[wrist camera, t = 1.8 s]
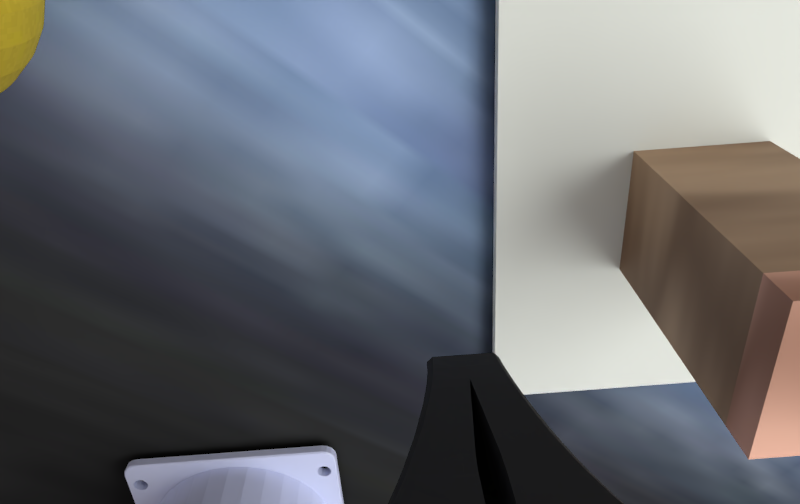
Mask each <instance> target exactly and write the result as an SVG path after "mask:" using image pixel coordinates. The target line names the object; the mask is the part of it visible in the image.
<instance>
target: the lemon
mask: <svg viewBox="0 0 800 504" xmlns="http://www.w3.org/2000/svg"><path fill="white" fill-rule="evenodd" d="M44 10H45V0H0V93H1V92H3V91H4V90H5V89H7V88H8V87H9V86H10V85H11V84H12V83H13V82H14V81H15V80H16V79H17V77H18V76H19V75H20V73H21V72H22V71H23V69H24V68H25V67H26V65H27V64H28V62H29V61H30V60H31V58H32V57H33V55H34V53H35V50H36V47H37V44H38V41H39V38H40V35H41V32H42V30H43V25H44Z"/></svg>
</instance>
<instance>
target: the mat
mask: <svg viewBox="0 0 800 504" xmlns="http://www.w3.org/2000/svg"><path fill="white" fill-rule="evenodd" d="M764 141H771V142H773V143H774V144H776V145H778V146H779V147H781V148H783V149H784V150H786V151H788V152H789V153H791V154H793V155H794V156H796V157H798V158H799V159H800V0H496V12H495V122H494V232H493V342H492V353H495V354H496V355H497V356H498V357H499V358H500V360H501V362H502V363H503V365H504V367H505V368H506V370H507V371H508V373H509V374H510V376H511V377H512V379H513V380H514V382H515V383H516V385H517V386H518V388H519V389H520V390H521V392H522V393H523V395H525V394H539V393H552V392H565V391H579V390H592V389H606V388H619V387H632V386H646V385H659V384H673V383H686V382H696V381H695V380H694V378H693V377H692V375H691V374H690V372H689V371H688V369H687V368H686V366H685V365H684V363H683V362H682V360H681V359H680V358H679V356H678V355H677V353H676V352H675V350H674V349H673V347H672V346H671V344H670V343H669V341H668V340H667V338H666V337H665V335H664V334H663V332H662V331H661V330H660V328H659V327H658V325H657V324H656V322H655V321H654V319H653V318H652V316H651V315H650V313H649V312H648V310H647V309H646V307H645V306H644V304H643V303H642V302H641V300H640V299H639V297H638V296H637V294H636V293H635V291H634V290H633V288H632V287H631V285H630V284H629V282H628V281H627V279H626V278H625V276H624V275H623V274H622V272H621V271H620V260H621V252H622V244H623V235H624V227H625V219H626V210H627V202H628V194H629V186H630V177H631V169H632V161H633V152H634V151H641V150H655V149H668V148H682V147H696V146H709V145H723V144H736V143H750V142H764Z"/></svg>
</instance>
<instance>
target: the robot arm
mask: <svg viewBox="0 0 800 504" xmlns="http://www.w3.org/2000/svg"><path fill="white" fill-rule="evenodd" d="M427 369H428V375H427V386H426V392H425V397H424V402H423V407H422V411H421V415H420V418H419V422H418V426H417V430H416V433H415V436H414V440H413V442H412V445H411V448H410V451H409V454H408V457H407V459H406V462H405V465H404V468H403V470H402V473H401V475H400V478H399V480H398V483H397V485H396V487H395V490H394V492H393V494H392V496H391V499H390V501H389V503H388V504H624V503H623V502H622V501H620V500H619V499H618V498H617V497H616V496H615V495H614V494H613V493H612V492H610V491H609V490H608V489H607V488H606V487H605V486H604V485H603V484H602V483H601V482H600V481H599V480H598V479H597V478H596V477H595V476H594V475H593V474H592V473H591V472H590V471H589V470H588V469H587V468H586V467H585V466H584V465H583V464H582V463H581V462H580V461H579V460H578V459H577V458H576V457H575V456H574V455H573V454H572V453H571V451H570V450H569V449H568V448H567V447H566V446H565V445H564V444H563V443H562V442H561V441H560V439H559V438H558V437H557V436H556V435H555V434H554V432H553V431H552V430H551V429H550V428H549V426H548V425H547V424H546V423H545V421H544V420H543V419H542V418H541V417H540V415H539V414H538V413H537V412H536V410H535V409H534V408H533V407H532V405H531V404H530V403H529V401H528V400H527V399H526V397H525V396H524V395H523V393H522V392H521V390H520V389H519V388H518V386H517V385H516V383H515V382H514V380H513V379H512V377H511V376H510V374H509V373H508V371H507V370H506V368H505V367H504V365H503V363H502V362H501V360H500V358H499V357H498V356H497V355H496V354H495V353H482V354H469V355H455V356H441V357H432V358H431V359H430V360H429V361H428V362H427ZM323 466H325V467H328V468H321V467H323ZM124 475H125V478H126V481H127V483H128V486H129V489H130V491H131V494H132V496H133V499H134V502H135V504H344V501H343V494H342V488H341V481H340V475H339V469H338V462H337V456H336V452H335V450H334V449H332V448H331V447H329V446H323V445H321V446H308V447H294V448H281V449H268V450H254V451H241V452H227V453H214V454H201V455H187V456H174V457H161V458H147V459H136V460H132V461H130V462H129V463H128V465H127V467H126V469H125V471H124ZM140 480H142V481H140ZM144 481H145V482H144Z"/></svg>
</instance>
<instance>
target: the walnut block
mask: <svg viewBox="0 0 800 504" xmlns="http://www.w3.org/2000/svg"><path fill="white" fill-rule="evenodd" d="M620 271H621V272H622V274H623V275H624V276H625V278H626V279H627V281H628V282H629V284H630V285H631V287H632V288H633V290H634V291H635V293H636V294H637V296H638V297H639V299H640V300H641V302H642V303H643V304H644V306H645V307H646V309H647V310H648V312H649V313H650V315H651V316H652V318H653V319H654V321H655V322H656V324H657V325H658V327H659V328H660V330H661V331H662V332H663V334H664V335H665V337H666V338H667V340H668V341H669V343H670V344H671V346H672V347H673V349H674V350H675V352H676V353H677V355H678V356H679V358H680V359H681V360H682V362H683V363H684V365H685V366H686V368H687V369H688V371H689V372H690V374H691V375H692V377H693V378H694V380H695V381H696V383H697V384H698V386H699V387H700V388H701V390H702V391H703V393H704V394H705V396H706V397H707V399H708V400H709V402H710V403H711V405H712V406H713V408H714V409H715V411H716V412H717V414H718V415H719V416H720V418H721V419H722V421H723V422H724V424H725V425H726V427H727V428H728V430H729V431H730V433H731V434H732V436H733V437H734V439H735V440H736V442H737V443H738V444H739V446H740V447H741V449H742V450H743V452H744V453H745V455H746V456H747V458H748V459H760V458H773V457H786V456H800V159H799V158H798V157H796V156H794V155H793V154H791V153H789V152H788V151H786V150H784V149H783V148H781V147H779V146H778V145H776V144H774V143H773V142H771V141H764V142H750V143H736V144H723V145H709V146H696V147H682V148H668V149H655V150H641V151H634V152H633V161H632V169H631V177H630V186H629V194H628V202H627V210H626V219H625V227H624V235H623V244H622V252H621V260H620Z"/></svg>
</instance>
